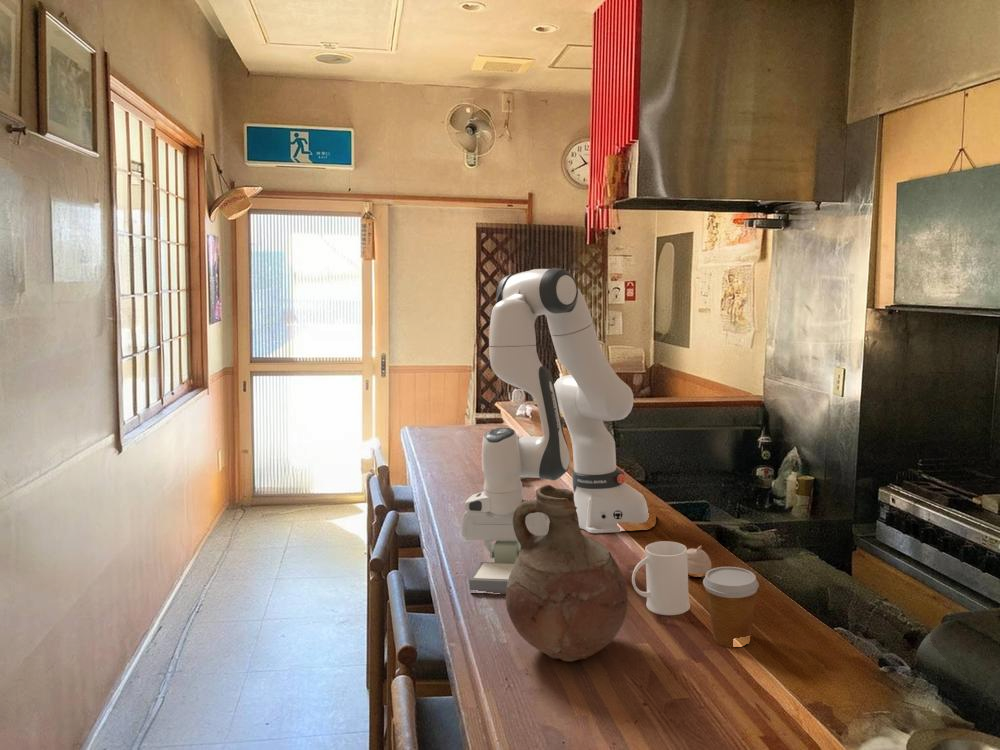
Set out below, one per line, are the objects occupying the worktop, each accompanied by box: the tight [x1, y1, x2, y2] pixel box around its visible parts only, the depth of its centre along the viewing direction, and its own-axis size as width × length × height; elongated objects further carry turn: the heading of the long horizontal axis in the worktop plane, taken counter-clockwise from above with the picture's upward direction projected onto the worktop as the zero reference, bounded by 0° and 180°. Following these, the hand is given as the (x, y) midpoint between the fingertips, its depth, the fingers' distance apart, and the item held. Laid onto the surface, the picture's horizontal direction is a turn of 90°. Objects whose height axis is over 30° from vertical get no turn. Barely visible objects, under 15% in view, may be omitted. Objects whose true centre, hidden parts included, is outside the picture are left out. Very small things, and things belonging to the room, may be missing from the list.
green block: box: [493, 541, 520, 563], centre depth 180 cm, size 5×5×6 cm
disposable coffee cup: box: [702, 566, 760, 649], centre depth 139 cm, size 10×10×12 cm
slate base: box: [468, 561, 515, 594], centre depth 171 cm, size 10×10×3 cm
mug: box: [631, 540, 691, 616], centre depth 154 cm, size 12×8×12 cm
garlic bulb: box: [687, 545, 712, 575], centre depth 168 cm, size 7×6×8 cm
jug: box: [505, 484, 629, 662], centre depth 138 cm, size 22×22×30 cm
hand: (507, 558), depth 180 cm, fingers closed on green block, 5 cm apart
